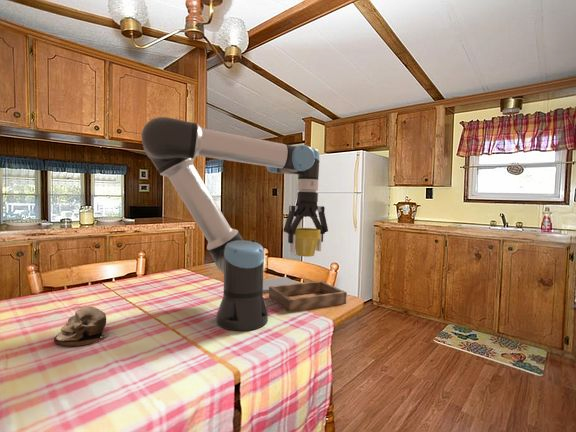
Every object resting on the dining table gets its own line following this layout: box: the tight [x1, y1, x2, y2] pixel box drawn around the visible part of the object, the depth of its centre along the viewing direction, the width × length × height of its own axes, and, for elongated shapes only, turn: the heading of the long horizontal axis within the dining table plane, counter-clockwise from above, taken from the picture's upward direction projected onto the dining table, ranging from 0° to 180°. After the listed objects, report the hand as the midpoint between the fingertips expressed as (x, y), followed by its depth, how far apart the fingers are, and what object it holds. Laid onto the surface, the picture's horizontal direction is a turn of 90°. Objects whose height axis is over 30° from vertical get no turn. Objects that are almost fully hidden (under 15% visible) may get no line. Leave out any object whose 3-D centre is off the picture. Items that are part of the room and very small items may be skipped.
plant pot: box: [294, 227, 320, 257], centre depth 115 cm, size 10×10×10 cm
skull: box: [53, 305, 109, 347], centre depth 80 cm, size 12×10×10 cm
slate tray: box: [263, 276, 298, 294], centre depth 132 cm, size 18×15×1 cm
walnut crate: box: [268, 280, 348, 313], centre depth 114 cm, size 23×16×4 cm
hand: (305, 251), depth 115 cm, fingers closed on plant pot, 10 cm apart
